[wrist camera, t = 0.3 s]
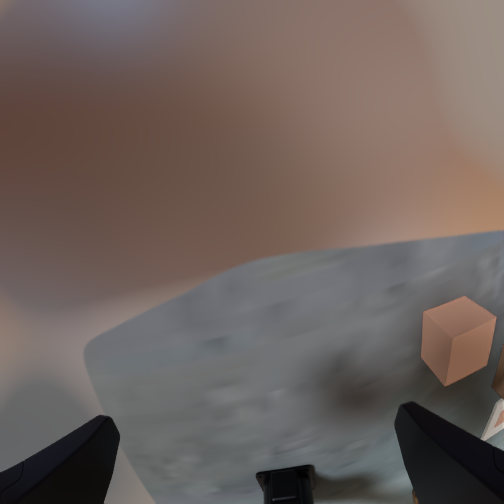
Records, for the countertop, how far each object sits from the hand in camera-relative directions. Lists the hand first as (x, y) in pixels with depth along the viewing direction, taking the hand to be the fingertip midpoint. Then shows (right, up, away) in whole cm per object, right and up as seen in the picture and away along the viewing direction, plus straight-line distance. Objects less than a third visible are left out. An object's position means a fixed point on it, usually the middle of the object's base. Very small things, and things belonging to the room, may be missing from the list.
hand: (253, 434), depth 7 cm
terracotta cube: (+18, -2, +15) cm, 23 cm away
